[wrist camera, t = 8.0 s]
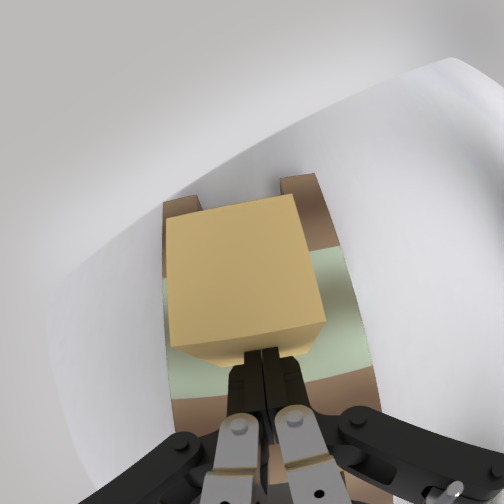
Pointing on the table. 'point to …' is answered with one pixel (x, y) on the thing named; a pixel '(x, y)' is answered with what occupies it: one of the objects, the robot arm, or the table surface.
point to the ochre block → (241, 282)
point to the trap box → (312, 363)
